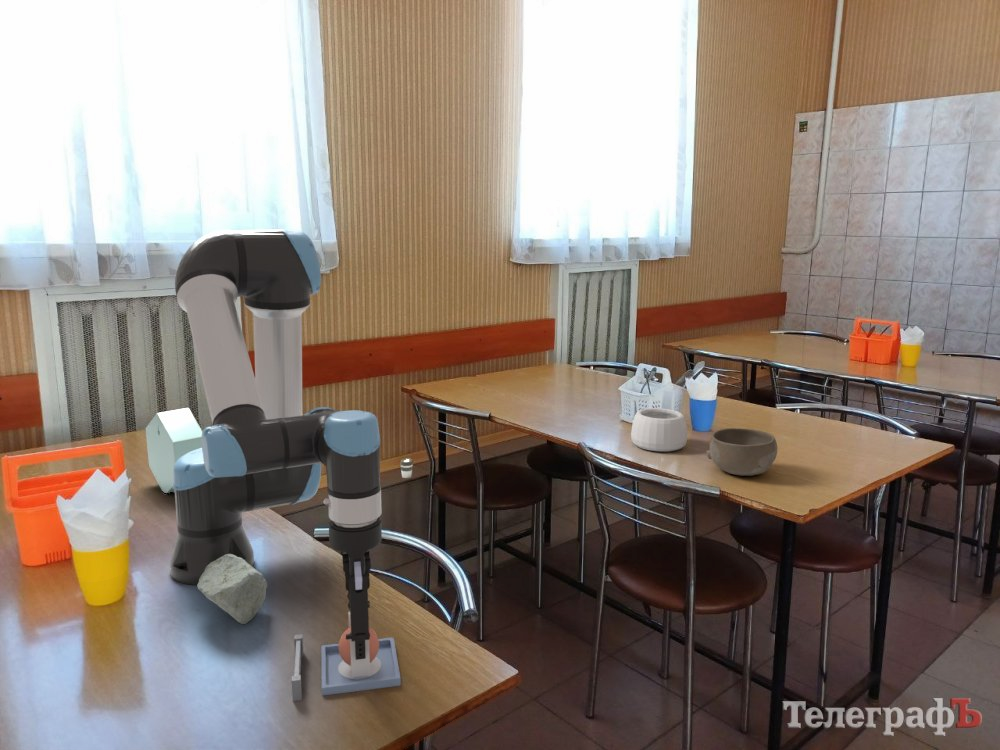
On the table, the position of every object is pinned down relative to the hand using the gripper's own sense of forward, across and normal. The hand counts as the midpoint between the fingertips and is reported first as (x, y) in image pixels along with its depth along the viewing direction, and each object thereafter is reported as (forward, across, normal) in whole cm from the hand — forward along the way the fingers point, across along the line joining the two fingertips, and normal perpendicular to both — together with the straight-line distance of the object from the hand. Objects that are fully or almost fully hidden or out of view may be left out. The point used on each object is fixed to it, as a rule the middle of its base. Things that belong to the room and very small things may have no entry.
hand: (359, 661), depth 115 cm
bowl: (+1, -72, +106) cm, 128 cm away
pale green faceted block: (+1, -86, -40) cm, 95 cm away
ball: (0, 0, 0) cm, 0 cm away
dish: (+1, 0, 0) cm, 1 cm away
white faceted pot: (+1, -101, +94) cm, 138 cm away
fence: (+1, 0, -9) cm, 9 cm away
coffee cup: (+2, -85, +16) cm, 87 cm away
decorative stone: (+1, -20, -20) cm, 28 cm away
